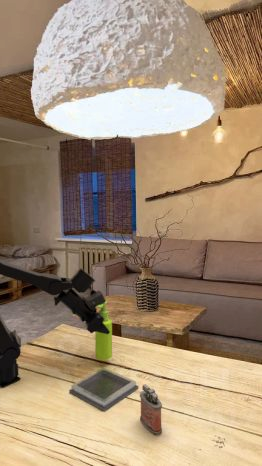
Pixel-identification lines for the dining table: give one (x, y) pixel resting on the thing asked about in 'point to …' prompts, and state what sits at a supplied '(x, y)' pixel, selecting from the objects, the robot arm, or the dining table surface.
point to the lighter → (150, 410)
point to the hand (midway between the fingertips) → (106, 329)
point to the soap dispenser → (104, 336)
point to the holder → (103, 388)
